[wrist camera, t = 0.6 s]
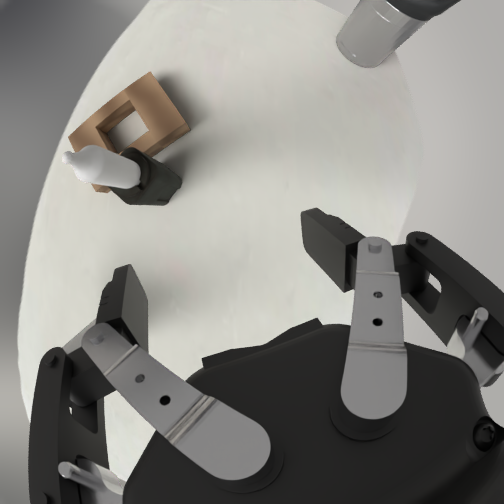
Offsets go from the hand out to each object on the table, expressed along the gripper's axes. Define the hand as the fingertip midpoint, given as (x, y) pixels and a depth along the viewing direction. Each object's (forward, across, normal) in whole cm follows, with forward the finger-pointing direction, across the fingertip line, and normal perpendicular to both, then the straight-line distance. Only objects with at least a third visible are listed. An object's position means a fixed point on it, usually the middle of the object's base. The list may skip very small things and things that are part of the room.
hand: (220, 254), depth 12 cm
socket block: (+34, +7, -5) cm, 35 cm away
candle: (+30, +4, +4) cm, 30 cm away
